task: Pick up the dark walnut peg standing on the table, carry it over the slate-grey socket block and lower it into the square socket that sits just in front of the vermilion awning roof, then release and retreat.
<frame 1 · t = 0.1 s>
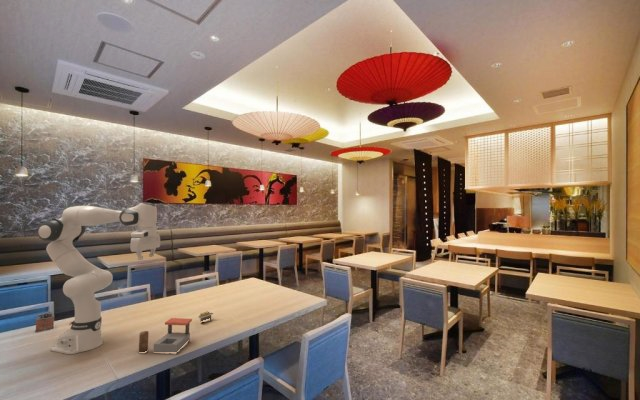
hand: (145, 258, 155), 48 cm above the table, fingers open, 8 cm apart
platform: (205, 322, 190), on the table
walnut peg: (143, 352, 149), on the table
brick wall piece: (44, 330, 173), on the table
socket stand: (172, 347, 155), on the table
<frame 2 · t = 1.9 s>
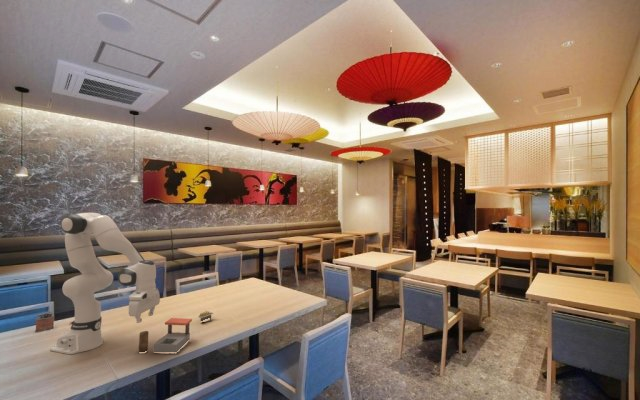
hand: (145, 318, 150), 17 cm above the table, fingers open, 8 cm apart
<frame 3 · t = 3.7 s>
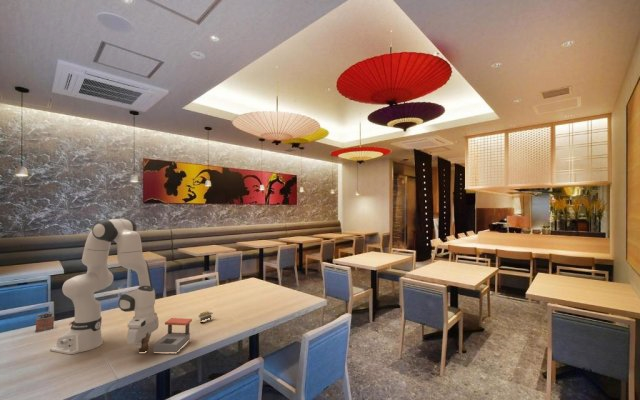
hand: (143, 345, 149), 4 cm above the table, fingers closed on walnut peg, 4 cm apart
walnut peg: (143, 352, 149), on the table, touching gripper
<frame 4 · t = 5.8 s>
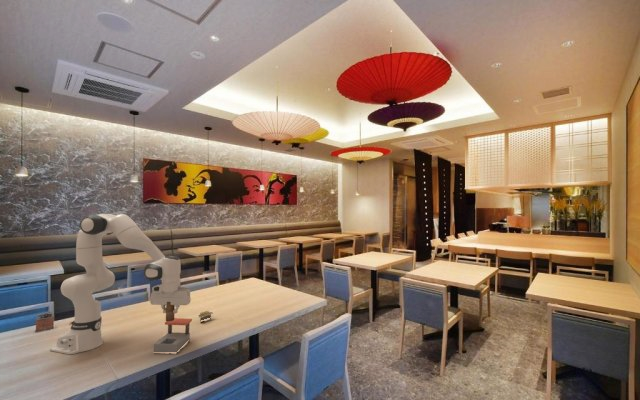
hand: (170, 313, 152), 20 cm above the table, fingers closed on walnut peg, 4 cm apart
walnut peg: (170, 319, 152), point 16 cm above the table, touching gripper
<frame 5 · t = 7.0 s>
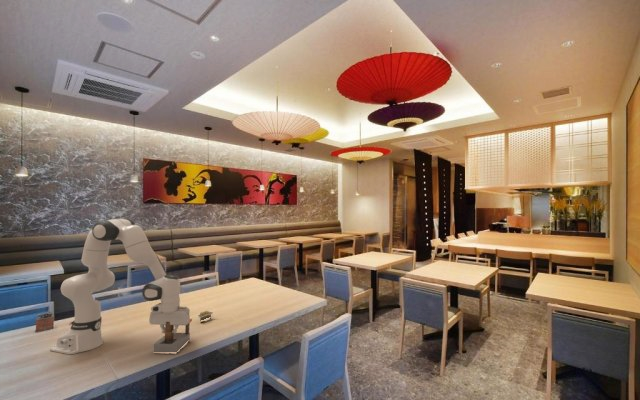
hand: (169, 332, 151), 9 cm above the table, fingers closed on walnut peg, 4 cm apart
walnut peg: (168, 339, 151), point 6 cm above the table, touching gripper
when the fingers open (6 cm above the table, at t = 8.0 s): walnut peg drops 2 cm, resting in socket stand.
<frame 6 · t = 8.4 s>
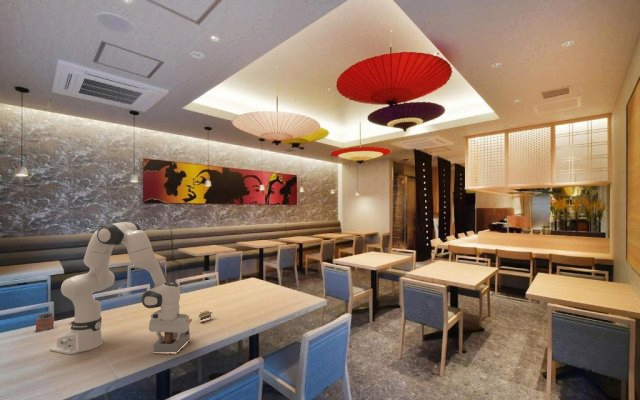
hand: (168, 340, 151), 6 cm above the table, fingers open, 8 cm apart
walnut peg: (168, 350, 151), resting in socket stand
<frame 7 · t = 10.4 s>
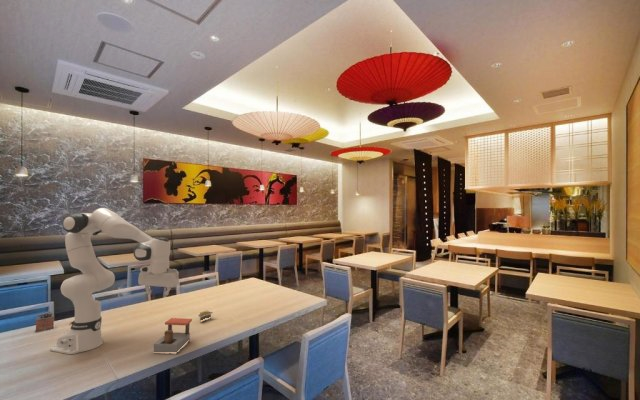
hand: (157, 294, 151), 30 cm above the table, fingers open, 8 cm apart
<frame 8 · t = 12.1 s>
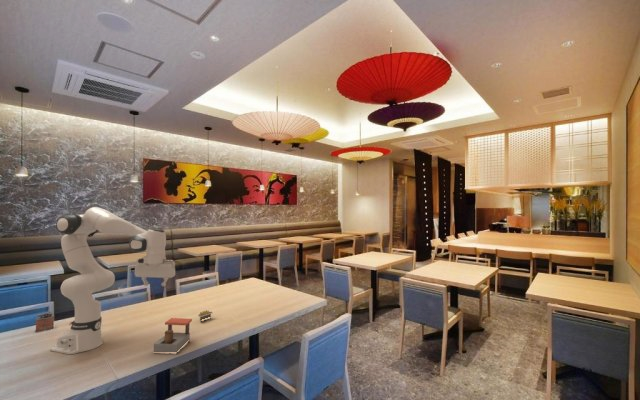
hand: (154, 285, 151), 34 cm above the table, fingers open, 8 cm apart
at the end: walnut peg 0.2 cm from the target spot on the socket stand, point 0.0 cm above the socket stand's base; walnut peg tilted 1°; the gripper is holding nothing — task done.
